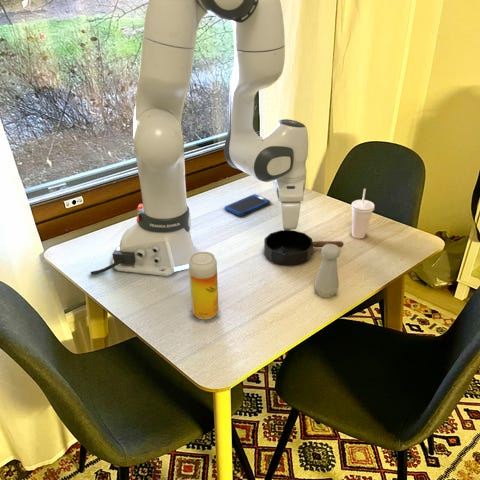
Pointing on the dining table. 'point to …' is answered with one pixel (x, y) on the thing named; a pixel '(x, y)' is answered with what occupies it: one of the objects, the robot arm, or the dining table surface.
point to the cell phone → (247, 205)
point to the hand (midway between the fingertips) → (286, 228)
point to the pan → (291, 247)
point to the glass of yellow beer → (203, 285)
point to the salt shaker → (328, 272)
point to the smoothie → (361, 216)
